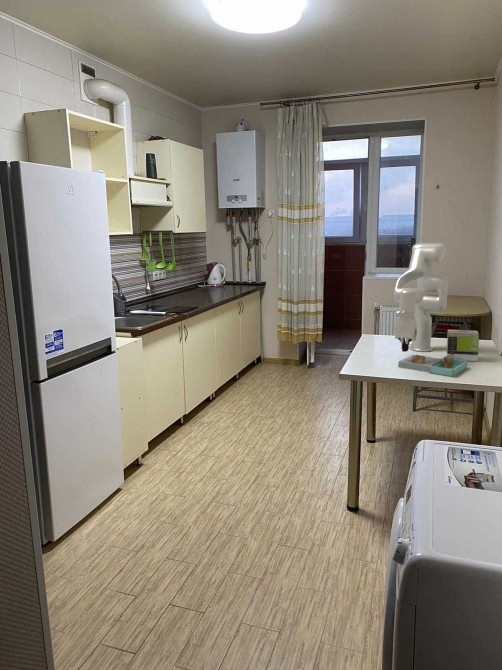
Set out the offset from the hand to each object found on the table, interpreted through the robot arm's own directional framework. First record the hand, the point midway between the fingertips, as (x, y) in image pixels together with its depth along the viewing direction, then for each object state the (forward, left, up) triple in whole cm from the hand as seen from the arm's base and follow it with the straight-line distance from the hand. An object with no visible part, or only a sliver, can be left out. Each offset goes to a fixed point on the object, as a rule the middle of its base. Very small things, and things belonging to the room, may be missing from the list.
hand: (404, 351), depth 258 cm
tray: (+20, +5, -8) cm, 22 cm away
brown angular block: (+17, +10, -5) cm, 20 cm away
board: (+6, +5, -8) cm, 11 cm away
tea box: (+17, +32, -8) cm, 37 cm away
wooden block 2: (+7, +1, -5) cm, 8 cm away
